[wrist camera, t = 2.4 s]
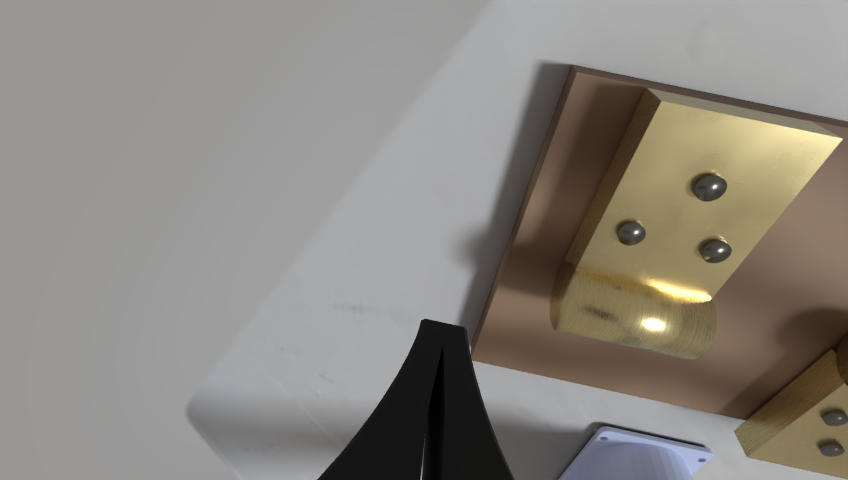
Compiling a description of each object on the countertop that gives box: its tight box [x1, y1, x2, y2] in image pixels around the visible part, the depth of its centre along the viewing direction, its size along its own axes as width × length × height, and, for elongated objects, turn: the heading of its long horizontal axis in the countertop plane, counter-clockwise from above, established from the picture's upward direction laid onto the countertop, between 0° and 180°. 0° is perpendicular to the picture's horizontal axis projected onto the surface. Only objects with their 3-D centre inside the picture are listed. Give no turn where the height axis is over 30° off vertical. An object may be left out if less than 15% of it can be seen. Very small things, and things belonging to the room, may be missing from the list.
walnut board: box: [471, 65, 848, 420], centre depth 20 cm, size 17×24×1 cm
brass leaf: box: [550, 88, 843, 360], centre depth 16 cm, size 11×6×3 cm, turn 171°
